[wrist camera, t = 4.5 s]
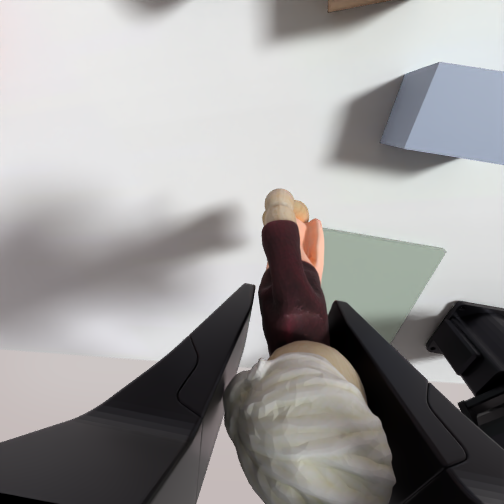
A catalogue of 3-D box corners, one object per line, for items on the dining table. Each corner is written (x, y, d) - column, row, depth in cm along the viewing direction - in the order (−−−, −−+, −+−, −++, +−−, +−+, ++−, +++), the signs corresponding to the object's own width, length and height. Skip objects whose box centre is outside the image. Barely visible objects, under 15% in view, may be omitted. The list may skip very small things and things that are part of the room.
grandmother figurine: (331, 270, 16) (454, 604, 5) (275, 283, 17) (275, 592, 6) (303, 153, 13) (479, 360, 2) (236, 176, 14) (71, 414, 3)
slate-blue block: (498, 89, 15) (563, 81, 12) (463, 156, 17) (509, 165, 14) (403, 74, 15) (439, 61, 12) (379, 142, 17) (403, 148, 14)
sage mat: (442, 248, 21) (446, 251, 20) (384, 344, 26) (386, 349, 26) (301, 224, 21) (301, 226, 20) (275, 325, 27) (275, 329, 26)
